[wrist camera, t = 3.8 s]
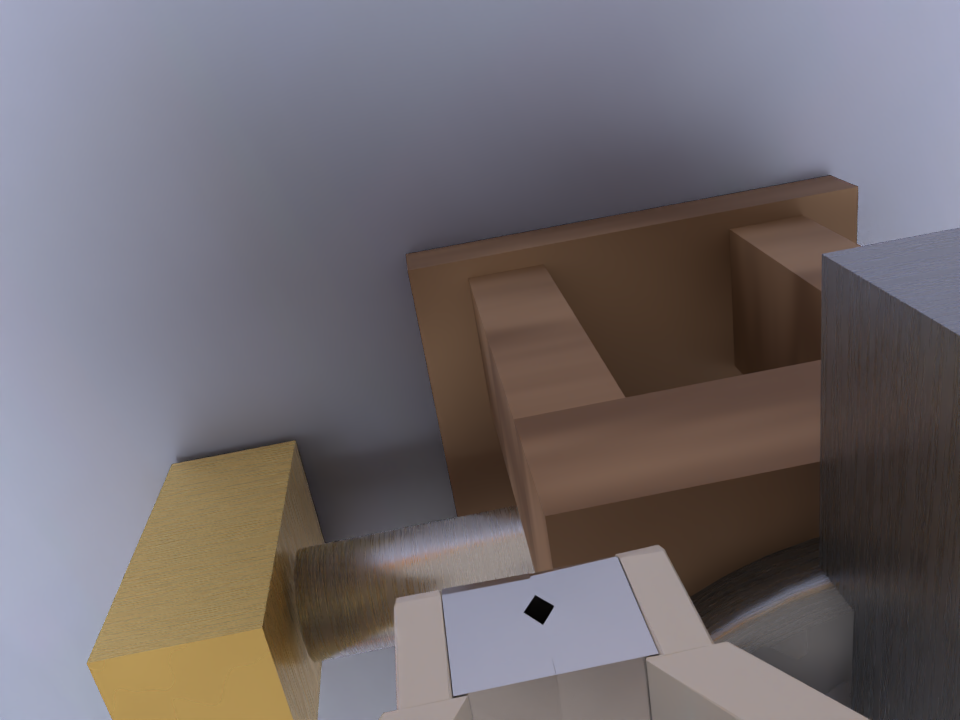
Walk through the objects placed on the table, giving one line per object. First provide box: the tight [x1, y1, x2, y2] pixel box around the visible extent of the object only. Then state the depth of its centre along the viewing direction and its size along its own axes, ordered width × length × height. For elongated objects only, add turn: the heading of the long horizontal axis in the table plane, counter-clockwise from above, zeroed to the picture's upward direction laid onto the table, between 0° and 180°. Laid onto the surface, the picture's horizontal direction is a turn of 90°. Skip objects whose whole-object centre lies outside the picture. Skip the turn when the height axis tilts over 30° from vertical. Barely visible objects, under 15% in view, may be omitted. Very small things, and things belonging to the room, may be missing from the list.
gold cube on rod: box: [87, 440, 535, 720], centre depth 22 cm, size 4×20×8 cm, turn 99°
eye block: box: [406, 175, 861, 597], centre depth 21 cm, size 14×12×12 cm
